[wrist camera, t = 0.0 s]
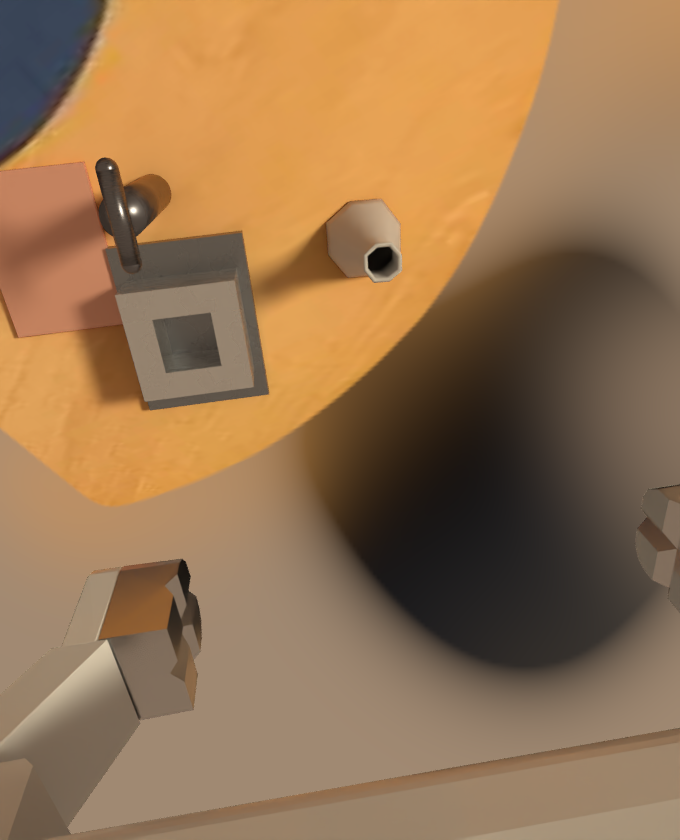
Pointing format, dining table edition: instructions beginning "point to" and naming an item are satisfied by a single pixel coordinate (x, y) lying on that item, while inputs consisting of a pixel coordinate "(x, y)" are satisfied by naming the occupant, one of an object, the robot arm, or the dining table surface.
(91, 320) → the key mat
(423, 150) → the dining table surface
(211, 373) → the block
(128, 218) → the chuck key
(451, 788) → the robot arm
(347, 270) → the flask
